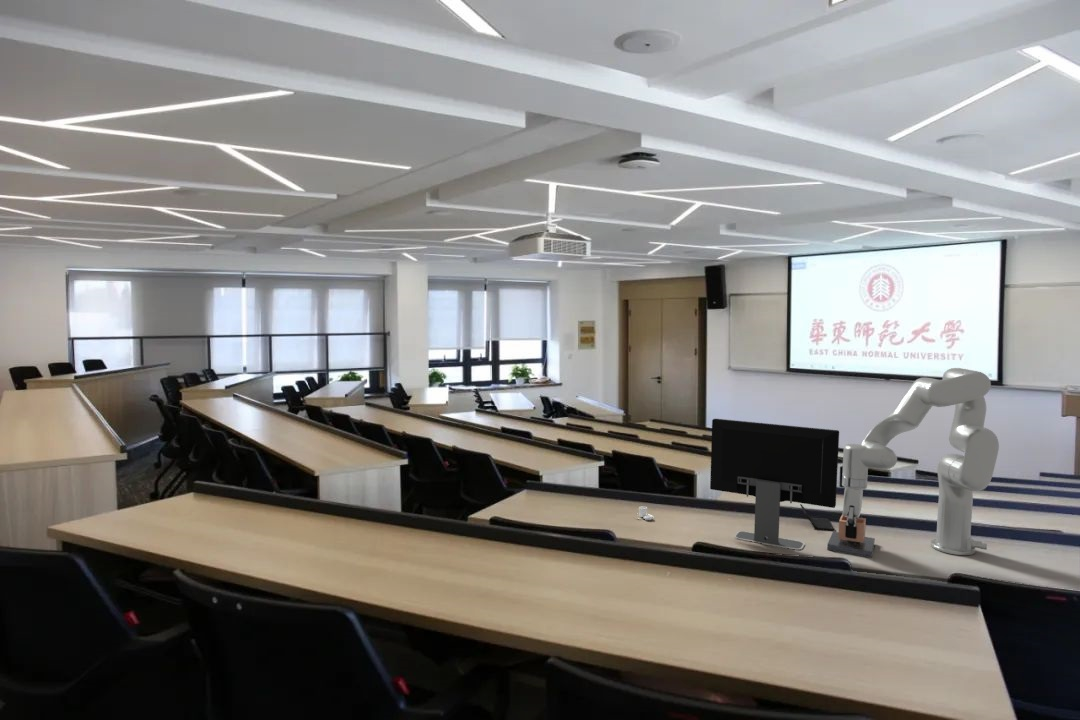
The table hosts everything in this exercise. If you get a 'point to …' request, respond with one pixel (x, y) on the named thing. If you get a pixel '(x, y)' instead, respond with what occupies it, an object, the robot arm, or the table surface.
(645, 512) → the teacup and saucer
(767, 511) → the computer monitor
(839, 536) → the pink storage bin
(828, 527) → the handheld gaming console
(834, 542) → the base plate
